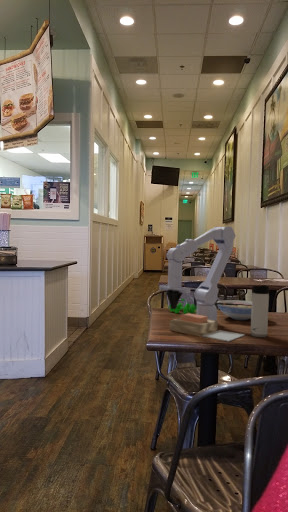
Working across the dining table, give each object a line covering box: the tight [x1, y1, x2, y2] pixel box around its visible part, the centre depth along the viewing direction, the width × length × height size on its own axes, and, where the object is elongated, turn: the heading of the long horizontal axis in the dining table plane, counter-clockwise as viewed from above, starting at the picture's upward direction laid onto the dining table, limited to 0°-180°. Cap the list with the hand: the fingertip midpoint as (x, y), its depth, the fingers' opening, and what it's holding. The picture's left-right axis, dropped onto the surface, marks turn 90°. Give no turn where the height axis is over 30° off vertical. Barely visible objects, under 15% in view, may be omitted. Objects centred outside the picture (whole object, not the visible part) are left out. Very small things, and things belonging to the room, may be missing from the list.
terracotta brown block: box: [180, 312, 208, 323], centre depth 162 cm, size 6×9×2 cm, turn 52°
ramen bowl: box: [214, 299, 271, 321], centre depth 192 cm, size 25×23×8 cm
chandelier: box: [167, 298, 197, 314], centre depth 206 cm, size 15×15×7 cm
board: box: [169, 317, 219, 337], centre depth 163 cm, size 14×14×4 cm
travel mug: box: [250, 284, 270, 338], centre depth 157 cm, size 6×7×20 cm
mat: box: [201, 329, 246, 343], centre depth 154 cm, size 14×11×1 cm
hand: (173, 308), depth 169 cm, fingers closed
